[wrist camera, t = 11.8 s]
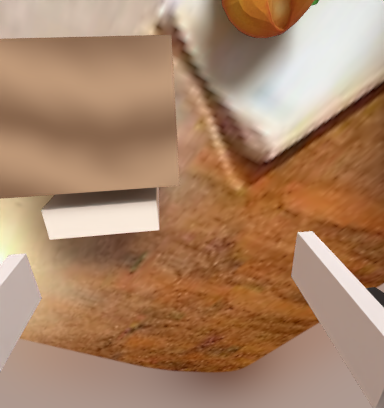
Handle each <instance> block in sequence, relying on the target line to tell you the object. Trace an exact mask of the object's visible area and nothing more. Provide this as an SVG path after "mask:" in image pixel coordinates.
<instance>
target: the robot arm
mask: <svg viewBox="0 0 384 408" xmlns="http://www.w3.org/2000/svg"><path fill="white" fill-rule="evenodd" d="M291 277H292V278H293V280H294V282H295V283H296V285H297V286H298V288H299V290H300V291H301V293H302V295H303V296H304V298H305V299H306V301H307V303H308V304H309V306H310V307H311V309H312V311H313V312H314V314H315V316H316V317H317V319H318V320H319V322H320V324H321V325H322V327H323V328H324V330H325V331H326V333H327V335H328V337H329V338H330V340H331V341H332V343H333V345H334V346H335V348H336V349H337V351H338V353H339V354H340V356H341V358H342V359H343V361H344V362H345V364H346V365H347V367H348V369H349V370H350V372H351V373H352V375H353V377H354V378H355V380H356V382H357V383H358V385H359V386H360V388H361V390H362V391H363V393H364V395H365V396H366V398H367V399H368V401H369V403H370V404H371V406H372V408H384V293H383V292H382V291H380V290H379V289H377V288H375V287H372V288H365V287H364V286H363V285H362V284H361V283H360V282H359V281H358V279H357V278H356V277H355V276H354V275H353V274H352V273H351V272H350V271H349V270H348V269H347V268H346V267H345V266H344V265H343V263H342V262H341V261H340V260H339V259H338V258H337V257H336V256H335V255H334V254H333V253H332V252H331V251H330V250H329V248H328V247H327V246H326V245H325V244H324V243H323V242H322V241H321V240H320V239H319V238H318V237H317V236H316V235H315V234H314V232H313V231H310V232H297V239H296V246H295V253H294V260H293V267H292V274H291ZM41 299H42V297H41V294H40V292H39V289H38V286H37V283H36V280H35V277H34V275H33V272H32V269H31V266H30V263H29V260H28V258H27V255H26V254H13V255H9V256H8V257H7V258H6V259H5V260H4V261H3V262H2V264H1V265H0V372H1V370H2V368H3V366H4V364H5V363H6V361H7V359H8V357H9V355H10V354H11V352H12V350H13V348H14V347H15V345H16V343H17V341H18V340H19V338H20V336H21V334H22V332H23V331H24V329H25V327H26V325H27V324H28V322H29V320H30V318H31V316H32V315H33V313H34V311H35V309H36V308H37V306H38V304H39V302H40V300H41Z"/></svg>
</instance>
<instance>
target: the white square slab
mask: <svg viewBox="0 0 384 408" xmlns="http://www.w3.org/2000/svg"><path fill="white" fill-rule="evenodd" d="M41 212H42V215H43V218H44V222H45V225H46V229H47V232H48V235H49V239H50V240H53V239H64V238H75V237H86V236H98V235H109V234H120V233H131V232H143V231H154V230H159V187H154V188H140V189H126V190H112V191H98V192H84V193H70V194H56V195H54V196H53V198H52V199H51V200H50V201H49V202H48V203H47V204H46V205H45V206H44V208H43V209H42V210H41Z"/></svg>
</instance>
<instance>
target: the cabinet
mask: <svg viewBox="0 0 384 408" xmlns="http://www.w3.org/2000/svg"><path fill="white" fill-rule="evenodd" d="M168 186H180V183H179V165H178V147H177V129H176V111H175V94H174V76H173V58H172V40H171V35H146V36H103V37H60V38H17V39H0V198H14V197H28V196H42V195H56V194H70V193H84V192H98V191H112V190H126V189H140V188H154V187H168Z"/></svg>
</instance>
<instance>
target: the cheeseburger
mask: <svg viewBox="0 0 384 408" xmlns="http://www.w3.org/2000/svg"><path fill="white" fill-rule="evenodd" d="M221 1H222V7H223V9H224V11H225V13H226V15H227V17H228V19H229V21H230V22H231V23H232V24H233V25H234V26H235V27H236V28H237V29H238V30H239V31H240V32H242V33H244V34H246V35H248V36H251V37H254V38H268V37H273V36H277V35H280V34H282V33H284V32H285V31H287V30H288V29H289V28H290V27H291V26H293V25H294V24H295V23H296V22H297V21H298V20H299V19H300V18H301V17H302V16H303V14H304V13H305V12H306V11H307V10H308V9H309V7H310V6H311V5H315V4H317V3H318V1H319V0H221Z"/></svg>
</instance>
